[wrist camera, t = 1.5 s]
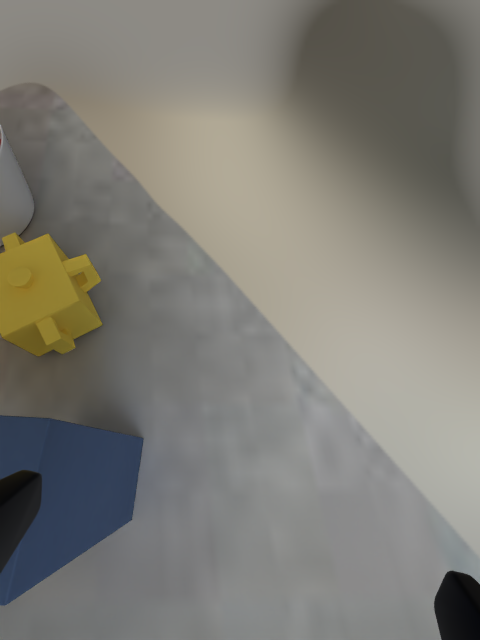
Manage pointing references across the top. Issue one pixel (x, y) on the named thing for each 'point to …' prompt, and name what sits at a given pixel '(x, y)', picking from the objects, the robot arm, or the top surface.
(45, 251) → the toy block
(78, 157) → the top surface
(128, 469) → the blue block
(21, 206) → the candle
